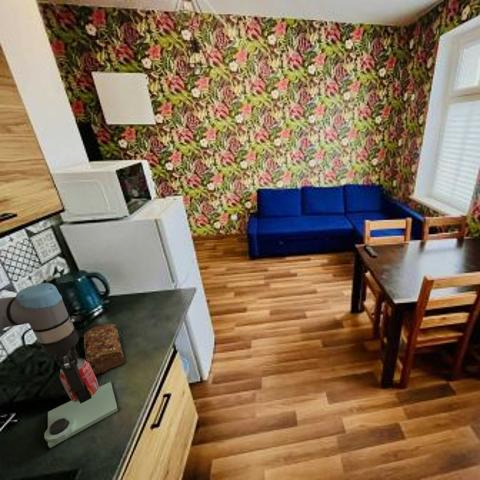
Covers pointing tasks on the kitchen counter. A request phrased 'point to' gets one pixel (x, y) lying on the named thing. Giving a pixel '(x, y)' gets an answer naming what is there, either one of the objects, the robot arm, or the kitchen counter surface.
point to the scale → (81, 414)
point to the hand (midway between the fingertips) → (84, 391)
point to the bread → (103, 348)
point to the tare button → (59, 426)
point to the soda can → (86, 376)
